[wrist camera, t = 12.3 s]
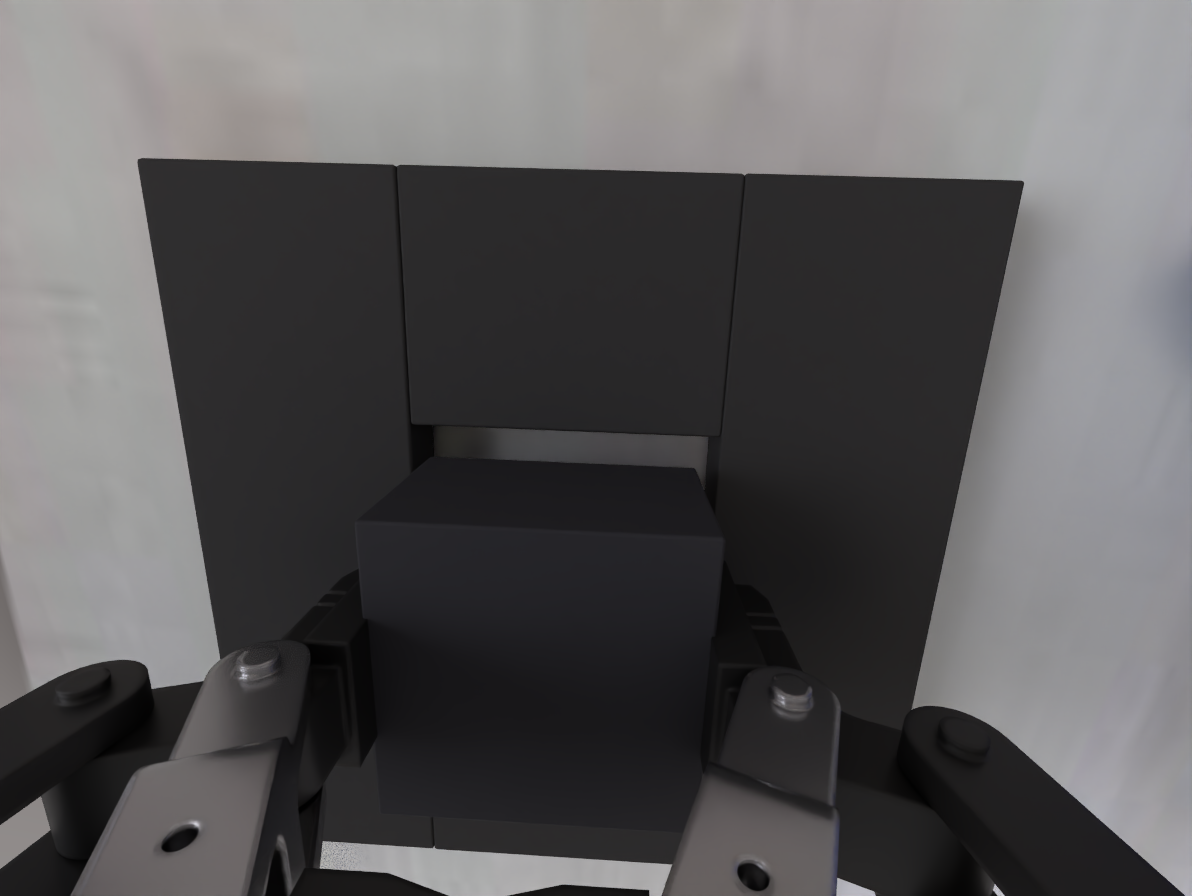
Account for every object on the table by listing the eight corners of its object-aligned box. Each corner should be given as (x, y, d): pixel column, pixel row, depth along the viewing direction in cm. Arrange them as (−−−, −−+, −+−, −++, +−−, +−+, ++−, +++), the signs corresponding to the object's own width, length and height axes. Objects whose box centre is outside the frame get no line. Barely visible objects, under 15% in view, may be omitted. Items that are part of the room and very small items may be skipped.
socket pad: (281, 790, 16) (248, 837, 15) (192, 173, 12) (134, 156, 11) (852, 825, 16) (876, 879, 14) (975, 194, 12) (1025, 180, 10)
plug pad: (440, 682, 13) (378, 815, 10) (430, 455, 12) (352, 520, 8) (677, 695, 13) (696, 835, 10) (695, 467, 11) (726, 538, 8)
